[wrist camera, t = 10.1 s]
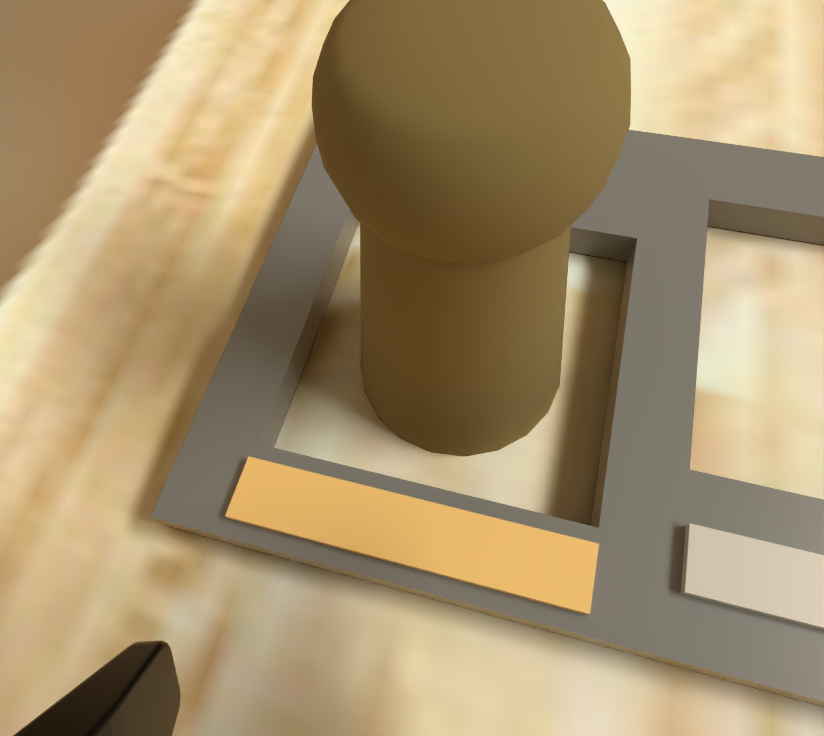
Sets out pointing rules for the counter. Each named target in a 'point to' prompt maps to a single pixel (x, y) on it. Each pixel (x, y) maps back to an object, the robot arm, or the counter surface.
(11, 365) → the counter surface
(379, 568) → the panel
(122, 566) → the counter surface
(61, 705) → the robot arm
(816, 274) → the counter surface
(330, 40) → the cork
